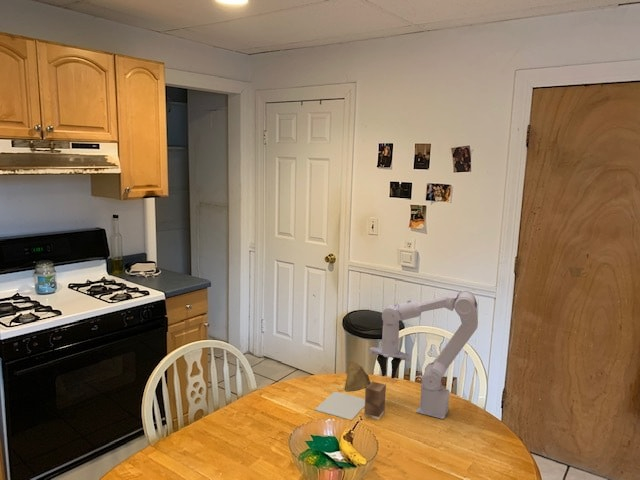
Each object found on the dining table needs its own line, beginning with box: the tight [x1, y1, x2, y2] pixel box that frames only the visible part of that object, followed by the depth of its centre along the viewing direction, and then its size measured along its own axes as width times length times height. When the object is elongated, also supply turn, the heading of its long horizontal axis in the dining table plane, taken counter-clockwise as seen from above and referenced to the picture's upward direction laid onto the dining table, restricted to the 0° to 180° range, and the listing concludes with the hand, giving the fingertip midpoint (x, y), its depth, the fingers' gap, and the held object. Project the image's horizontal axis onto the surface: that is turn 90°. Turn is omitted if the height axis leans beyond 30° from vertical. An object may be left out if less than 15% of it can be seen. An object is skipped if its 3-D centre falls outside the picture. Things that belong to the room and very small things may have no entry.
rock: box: [344, 361, 372, 392], centre depth 183 cm, size 11×9×10 cm
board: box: [313, 390, 365, 420], centre depth 169 cm, size 14×16×1 cm
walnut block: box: [364, 381, 387, 421], centre depth 163 cm, size 5×6×10 cm
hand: (388, 376), depth 171 cm, fingers open, 3 cm apart
